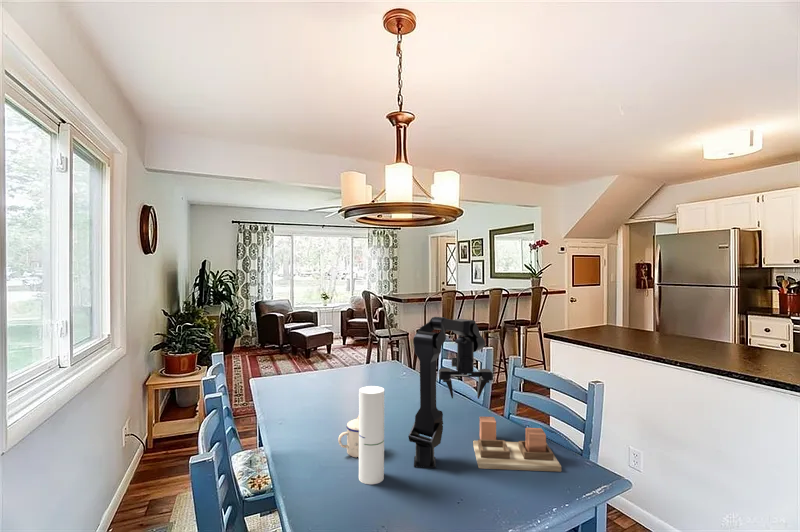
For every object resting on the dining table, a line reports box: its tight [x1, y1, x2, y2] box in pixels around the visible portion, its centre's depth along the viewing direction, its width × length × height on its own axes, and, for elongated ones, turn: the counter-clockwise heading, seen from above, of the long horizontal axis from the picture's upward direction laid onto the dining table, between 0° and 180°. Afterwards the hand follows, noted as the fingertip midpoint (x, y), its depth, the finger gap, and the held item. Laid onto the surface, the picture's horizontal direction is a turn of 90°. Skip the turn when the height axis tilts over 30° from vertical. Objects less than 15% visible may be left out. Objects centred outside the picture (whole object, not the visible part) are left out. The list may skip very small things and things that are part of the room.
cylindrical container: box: [358, 385, 385, 485], centre depth 118 cm, size 7×7×25 cm
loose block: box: [479, 416, 497, 440], centre depth 144 cm, size 5×5×7 cm
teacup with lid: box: [337, 415, 359, 459], centre depth 133 cm, size 12×9×12 cm
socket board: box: [472, 427, 562, 473], centre depth 131 cm, size 16×24×8 cm, turn 86°
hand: (465, 398), depth 148 cm, fingers open, 9 cm apart
